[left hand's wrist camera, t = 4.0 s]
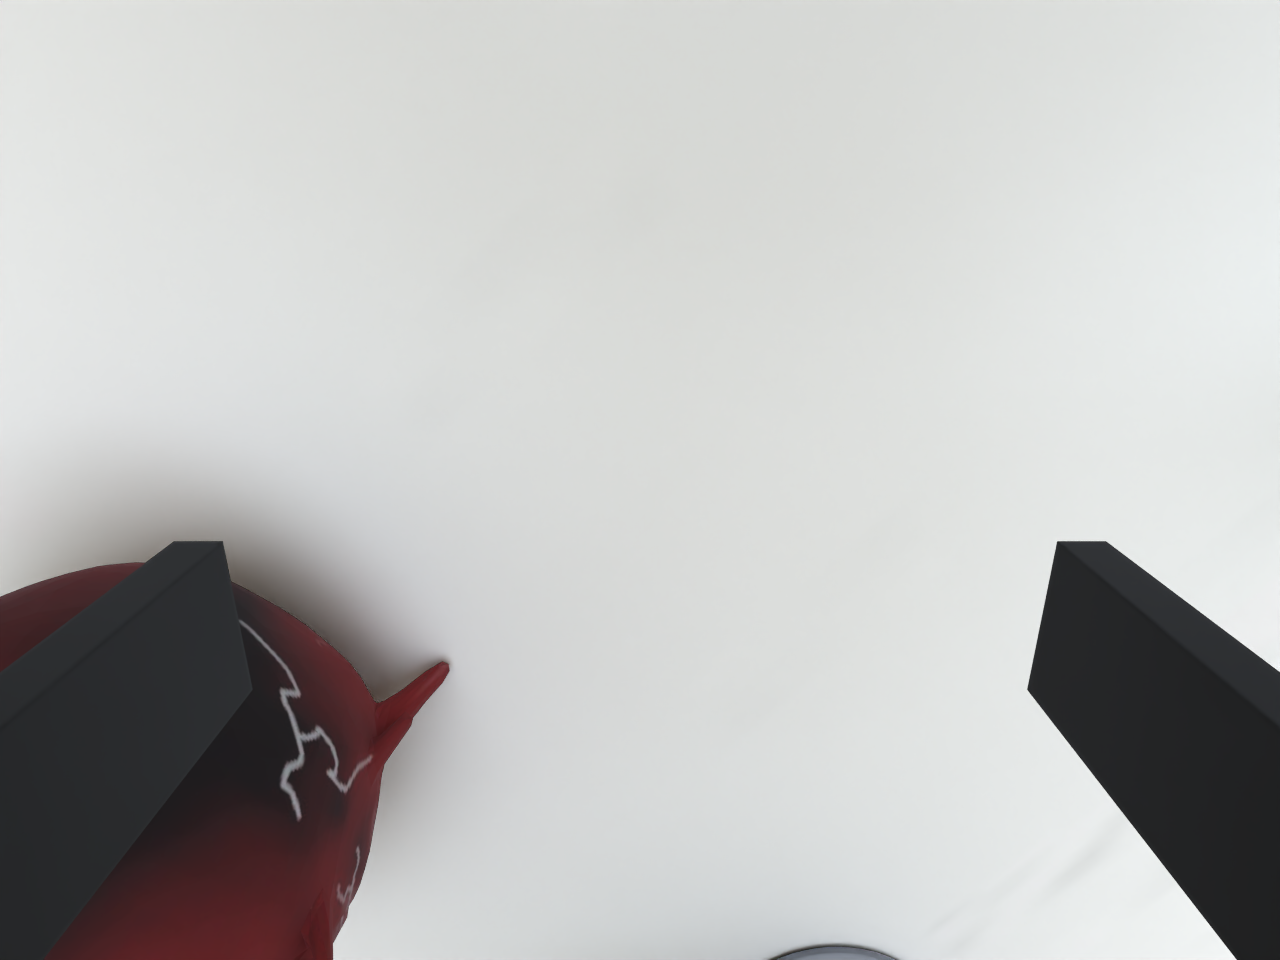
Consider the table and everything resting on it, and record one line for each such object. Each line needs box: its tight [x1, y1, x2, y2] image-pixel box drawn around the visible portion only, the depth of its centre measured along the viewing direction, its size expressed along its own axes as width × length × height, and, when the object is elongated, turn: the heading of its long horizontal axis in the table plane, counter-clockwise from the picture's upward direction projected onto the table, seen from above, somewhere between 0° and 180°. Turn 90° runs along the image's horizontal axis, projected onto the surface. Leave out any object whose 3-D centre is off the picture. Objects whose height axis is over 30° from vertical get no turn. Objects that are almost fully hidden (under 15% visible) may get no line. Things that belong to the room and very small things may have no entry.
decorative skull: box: [0, 563, 449, 960], centre depth 37 cm, size 21×24×25 cm
